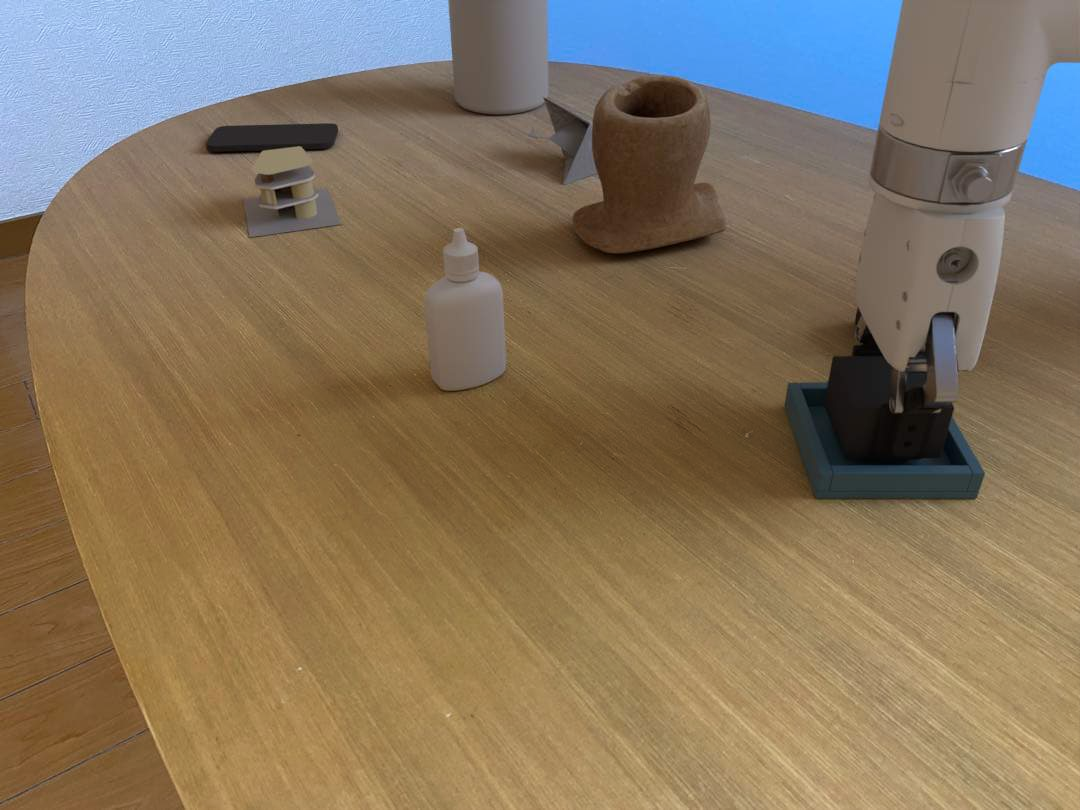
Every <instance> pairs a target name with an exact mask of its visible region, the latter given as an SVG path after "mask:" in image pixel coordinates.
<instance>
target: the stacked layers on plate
mask: <svg viewBox="0 0 1080 810" xmlns="http://www.w3.org/2000/svg"><path fill="white" fill-rule="evenodd" d="M313 162H314V161H313V159H312V157H310V155H309V154H308V152H306V150H305V149H303V148H302V147H301V146H298V147H290V148H282V149H273V150H261V152H260V154H259V155H258V156H257V158H256V160H255V162H254V164H253V165H252V166H251V169H252V170H251V171H252V173H254V174H257V175H256V177H255V178H254V183H255V188H256V189H259V190H260V195H259V196H258V197H250V198H243V199H242V203H243V207H244V214H245V218H246V225H247V231H248V236H249V237H248V238H255V237H262V236H269V235H270V236H271V235H276V234H283V233H290V232H291V233H292V232H298V231H304V230H312V229H319V228H325V227H332V226H333V227H334V226H340V225H342V223H341V220H340V217H339V214H338V212H337V210H336V206H335V203H334V201H333V199H332V196H331V193H330V191H329V188H328V187H326V188H325V187H324V188H318V189H316V187H315V186H314V184H313V180H314V178H316V173H315V171H314V170H313V168H311V166H310V165H312V164H313Z"/></svg>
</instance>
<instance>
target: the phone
mask: <svg viewBox="0 0 1080 810" xmlns="http://www.w3.org/2000/svg"><path fill="white" fill-rule="evenodd" d="M338 133H339V125H338V124H336V123H331V122H329V123H328V122H327V123H324V122H323V123H285V124H283V123H281V124H245V125H244V124H243V125H241V124H240V125H221V126H217V127H216V128H215V129H214V130H213V131H212V133H211V135H210V136H209V137H208V139H207V141H206V142H205V148H206V150H207V151H208V152H214V153H216V152H217V153H218V152H249V151H250V152H253V151H254V152H255V151H257V152H258V151H259V152H260V151H265V150H273V149H282V148H290V147H298V146H301V147H302V148H303V149H304V150H325V149H330V148H332V147H334V144H335V142H336V139H337V136H338Z"/></svg>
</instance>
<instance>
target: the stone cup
mask: <svg viewBox="0 0 1080 810" xmlns="http://www.w3.org/2000/svg"><path fill="white" fill-rule="evenodd" d="M593 111H594V112H593V117H592V118H593V119H592V123H593V126H592V152H593V158H594V162H595V166H596V169H597V176H598V178H599V181H600V185H601V190H602V197H603V200H602V201H598V202H594V203H593V202H592V203H590V204H588V205H583V206H582V207H580V208H578V209H577V210H576V211H575V212H574V213H573V215H572V217H571V221H572V227H573V229H574V232H575V233H576V234H577V236H578V237H579V239H581V240H582V241H583V242H584V243H586V244H587V245H588V246H590V247H592V248H594V249H597V250H600V251H601V252H603V253H607V254H628V253H634V252H642V251H648V250H652V249H658V248H663V247H667V246H671V245H675V244H680V243H684V242H688V241H692V240H696V239H700V238H703V237H708V236H712V235H716V234H721V233H724V232H725V231H727V221H726V217H725V215H724V212H723V211H722V208H721V205H720V204H719V202H718V199H719V196H718V195H719V194H718V191H717V189H716V188H715V186H713V184H711V183H709V182H697V183H695V182H696V179H697V175H698V173H699V172H698V171H699V169H700V165H701V163H702V160H703V157H704V155H705V153H706V149H707V147H708V143H709V139H710V135H711V112H710V105H709V101H708V97H707V95H706V93H705V92H704V91H703V89H702V88H701V87H700V86H699V85H698V84H696V83H694V82H693V81H691V80H688V79H686V78H683V77H679V76H673V75H665V74H658V75H654V74H649V75H643V76H639V77H637V78H634V79H632V80H629V81H628V82H626V83H624V84H620V85H614V86H612V87H610V88H609V89H607V90H606V91H605V92H604V93H603V94H602V95H601V97H600V98H599V99H598V101H597V103H596V105H595V107H594V110H593Z"/></svg>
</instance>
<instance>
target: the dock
mask: <svg viewBox="0 0 1080 810" xmlns="http://www.w3.org/2000/svg"><path fill="white" fill-rule="evenodd" d="M827 386H828V381H827V382H826V381H825V382H824V381H820V382H817V381H813V382H811V381H808V382H806V381H805V382H802V381H801V382H787V388H786V395H785V401H784V405H783V406H784V409H785V413H786V416H787V419H788V421H789V424H790V427H791V430H792V434H793V436H794V439H795V442H796V445H797V449H798V451H799V454H800V457H801V460H802V463H803V466H804V469H805V473H806V475H807V478H808V481H809V483H810V487H811V489H812V493H813V496H814V499H869V500H870V499H876V500H877V499H883V500H885V499H891V500H893V499H897V500H898V499H913V500H914V499H921V500H922V499H925V500H927V499H928V500H929V499H932V500H933V499H934V500H935V499H937V500H938V499H939V500H941V499H942V500H943V499H945V500H946V499H949V500H950V499H954V500H958V499H960V500H961V499H969V500H971V499H975V500H976V499H977V498H978V496H979V493H980V490H981V487H982V484H983V481H984V479H985V475H986V472H985V470H984V469H983V467H982V465H981V464H980V461H979V460H978V457H976V455H975V454H974V451H973V450H972V448H971V446H970V444H969V443H968V441H967V440H966V438H965V436H964V434H963V433H962V430H961V429H960V427H959V426H958V424H957V422H956V421H955V419H954V417H953V416H952V418H951V421H950V425H949V428H948V432H947V435H946V439H945V442H944V446H943V449H942V453H941V456H940V458H922V459H920V460H876V459H845V457H844V454H843V452H842V449H841V447H840V444H839V442H838V439H837V436H836V434H835V431H834V429H833V426H832V424H831V421H830V419H829V416H828V414H827V411H826V409H825V406H824V401H825V396H826V391H827Z"/></svg>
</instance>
